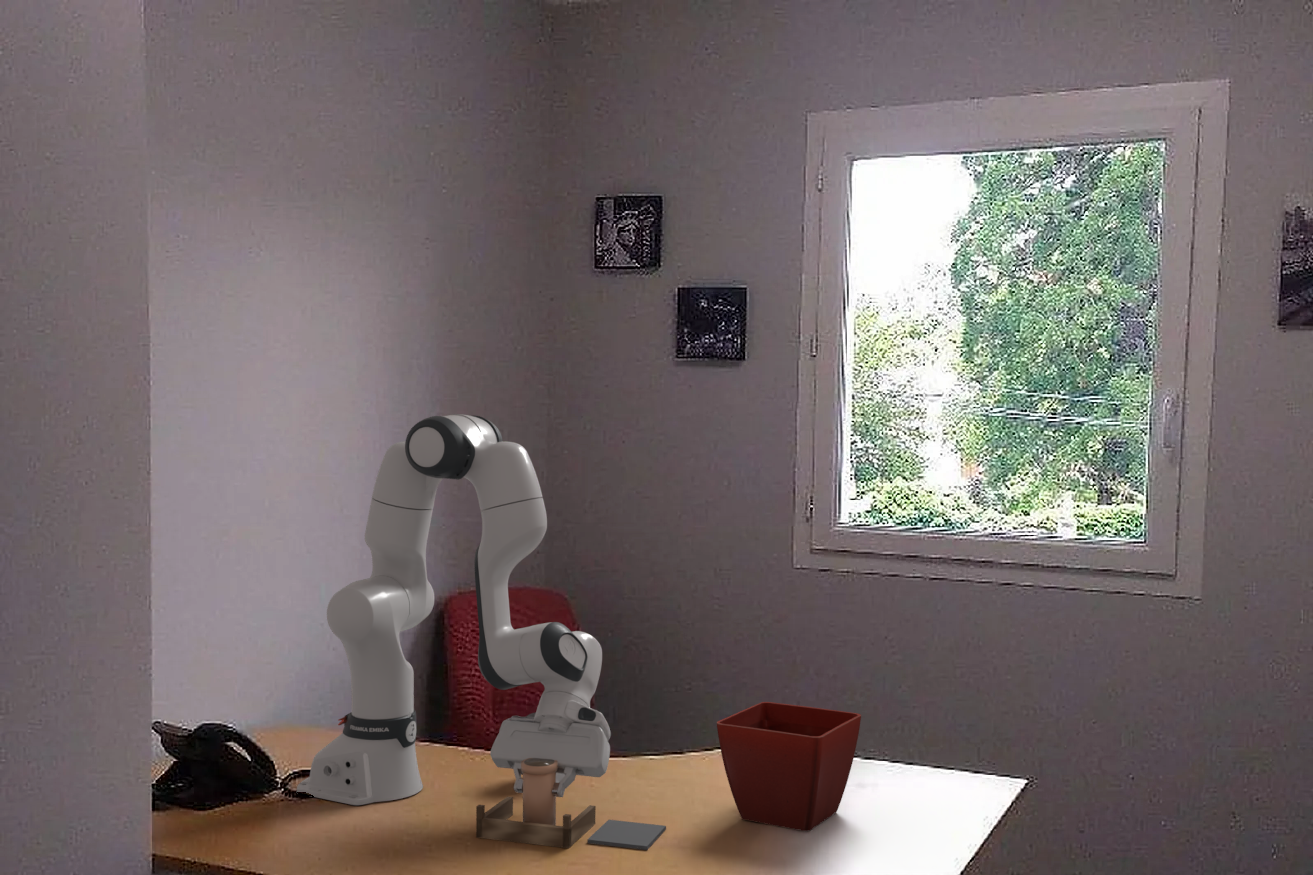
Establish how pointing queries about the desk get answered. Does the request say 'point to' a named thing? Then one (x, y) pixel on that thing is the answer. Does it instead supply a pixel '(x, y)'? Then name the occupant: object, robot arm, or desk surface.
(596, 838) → the mat
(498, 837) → the low fence
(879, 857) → the desk surface
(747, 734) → the plant pot
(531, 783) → the pot
